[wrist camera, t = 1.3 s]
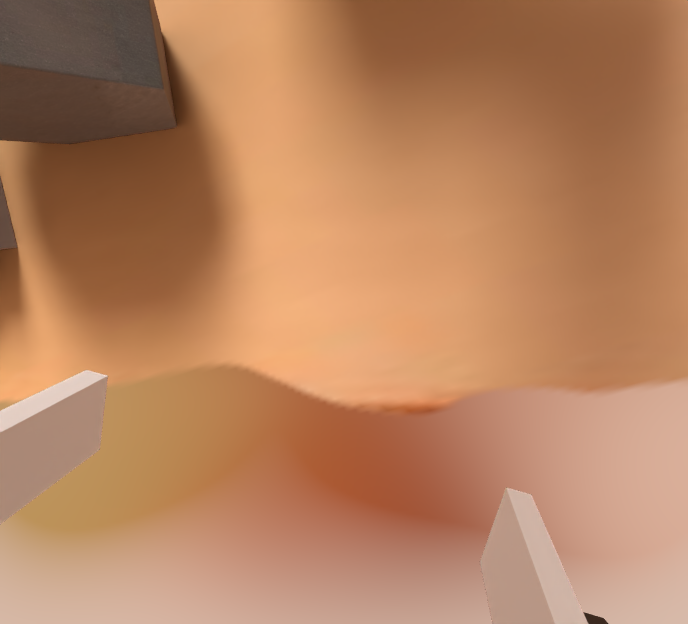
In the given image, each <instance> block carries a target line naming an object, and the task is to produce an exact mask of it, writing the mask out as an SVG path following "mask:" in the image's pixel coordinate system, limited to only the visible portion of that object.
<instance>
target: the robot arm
mask: <svg viewBox="0 0 688 624" xmlns="http://www.w3.org/2000/svg"><path fill="white" fill-rule="evenodd" d="M107 379H108V376H107V375H103V374H99V373H96V372H92V371H89V370H85V371H83V372H81V373H79V374H77V375H75V376H72V377H70V378H68V379H66V380H64V381H62V382H60V383H58V384H56V385H53V386H51V387H49V388H47V389H45V390H43V391H41V392H39V393H37V394H34V395H32V396H30V397H28V398H26V399H24V400H22V401H20V402H18V403H15V404H13V405H11V406H9V407H7V408H5V409H3V410H1V411H0V524H1V523H3V522H4V521H5V520H7V519H8V518H9V517H11V516H12V515H13V514H15V513H16V512H17V511H18V510H20V509H21V508H23V507H24V506H25V505H27V504H28V503H29V502H31V501H32V500H33V499H35V498H36V497H37V496H38V495H40V494H41V493H43V492H44V491H45V490H46V489H48V488H49V487H51V486H52V485H53V484H55V483H56V482H57V481H59V480H60V479H61V478H62V477H64V476H65V475H66V474H68V473H69V472H71V471H72V470H73V469H75V467H77V466H78V465H80V464H81V463H83V462H84V461H85V460H87V459H88V458H89V457H90V456H92V455H93V454H94V453H96V452H97V451H98V450H99V449H100V442H101V441H100V440H101V432H102V423H103V415H104V405H105V396H106V388H107ZM480 566H481V570H482V575H483V580H484V585H485V590H486V595H487V600H488V605H489V609H490V614H491V619H492V624H608V623H607V622H606V620H605V619H604V618H601V617H598V616H594V615H591V614H588V613H584V612H583V611H582V608H581V606H580V604H579V602H578V600H577V597H576V595H575V592H574V590H573V588H572V586H571V583H570V581H569V579H568V577H567V574H566V572H565V570H564V568H563V565H562V563H561V561H560V558H559V556H558V554H557V552H556V549H555V547H554V545H553V543H552V541H551V538H550V536H549V534H548V531H547V529H546V527H545V524H544V522H543V520H542V518H541V515H540V513H539V511H538V509H537V507H536V504H535V502H534V499H533V497H532V495H531V494H528V493H524V492H521V491H517V490H514V489H510V488H507V487H506V489H505V492H504V495H503V497H502V500H501V503H500V506H499V509H498V512H497V514H496V517H495V520H494V523H493V526H492V529H491V532H490V534H489V537H488V541H487V543H486V546H485V549H484V552H483V554H482V557H481V560H480Z"/></svg>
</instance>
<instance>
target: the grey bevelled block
mask: <svg viewBox="0 0 688 624" xmlns="http://www.w3.org/2000/svg"><path fill="white" fill-rule="evenodd" d="M175 127H177V124H176V117H175V111H174V105H173V99H172V93H171V87H170V81H169V75H168V69H167V63H166V57H165V51H164V45H163V39H162V32H161V27H160V23H159V19H158V15H157V11H156V7H155V4H154V0H0V140H6V141H23V142H41V143H59V144H73V143H80V142H86V141H93V140H99V139H106V138H112V137H119V136H126V135H132V134H139V133H145V132H152V131H159V130H165V129H172V128H175Z"/></svg>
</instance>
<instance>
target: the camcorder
mask: <svg viewBox="0 0 688 624" xmlns="http://www.w3.org/2000/svg"><path fill="white" fill-rule="evenodd" d="M10 248H17V244H16V240H15V236H14V232H13V228H12V223H11V219H10V215H9V211H8V207H7V203H6V199H5V195H4V191H3V187H2V182H1V178H0V250H2V249H10Z"/></svg>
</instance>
